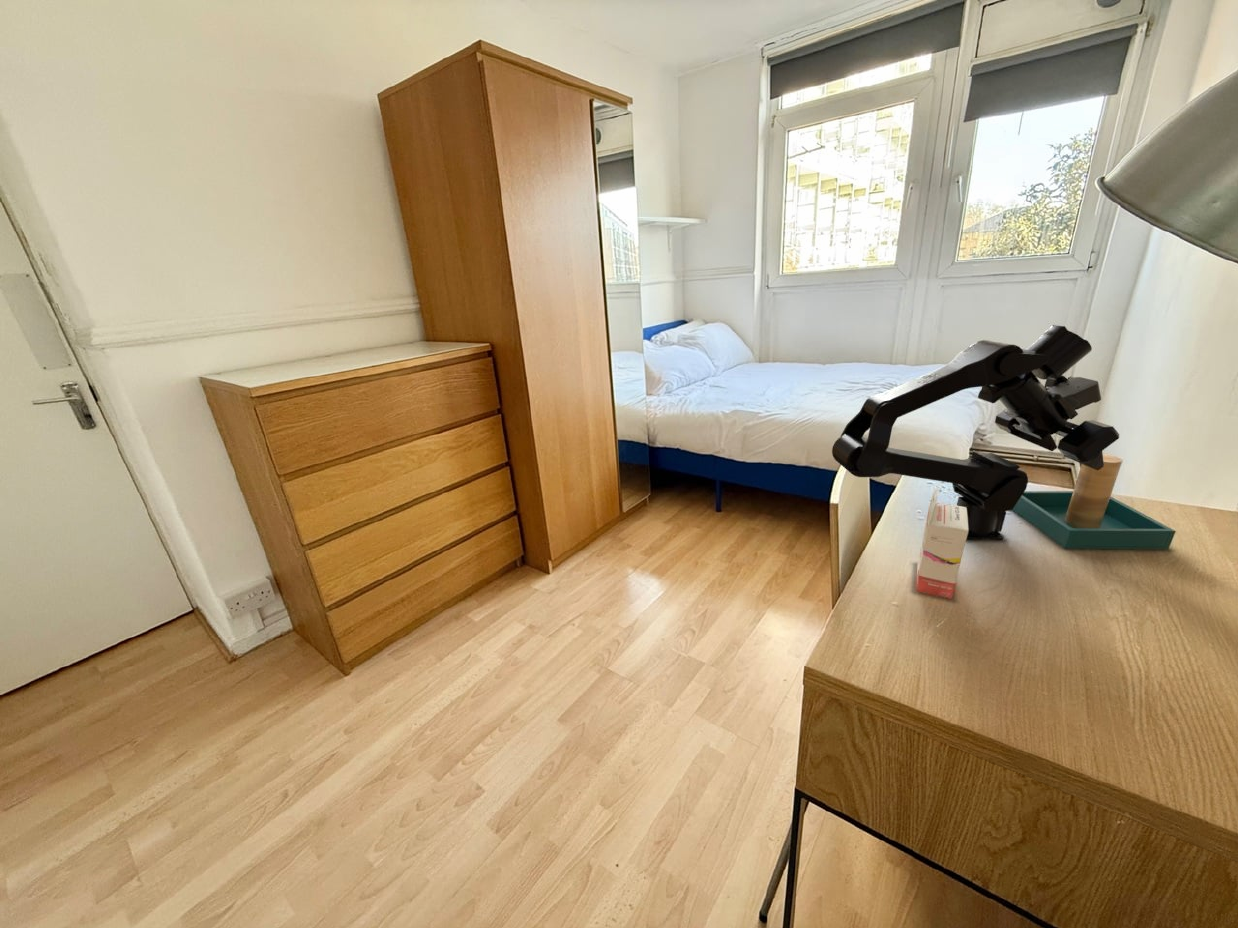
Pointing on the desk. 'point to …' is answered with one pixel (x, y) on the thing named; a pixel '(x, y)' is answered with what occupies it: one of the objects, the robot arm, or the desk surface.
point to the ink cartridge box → (942, 548)
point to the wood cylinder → (1092, 494)
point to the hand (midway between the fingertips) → (1076, 458)
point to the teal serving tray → (1115, 531)
